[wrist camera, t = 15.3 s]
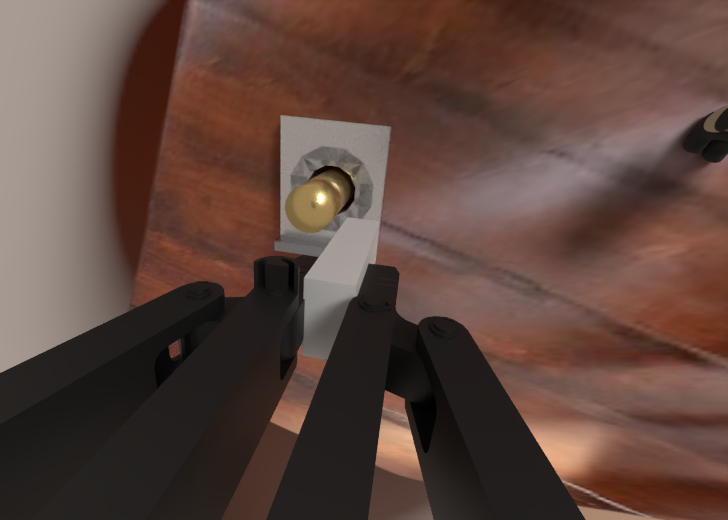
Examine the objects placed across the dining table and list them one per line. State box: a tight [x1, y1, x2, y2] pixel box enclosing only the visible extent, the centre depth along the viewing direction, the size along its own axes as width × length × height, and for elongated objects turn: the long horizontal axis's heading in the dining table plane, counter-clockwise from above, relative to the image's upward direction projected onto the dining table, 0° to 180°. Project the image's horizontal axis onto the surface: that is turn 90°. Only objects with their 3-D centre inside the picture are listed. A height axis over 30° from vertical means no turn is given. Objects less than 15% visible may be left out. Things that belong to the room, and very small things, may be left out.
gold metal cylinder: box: [285, 169, 353, 233], centre depth 37 cm, size 4×4×11 cm
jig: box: [274, 115, 392, 257], centre depth 41 cm, size 15×12×4 cm
